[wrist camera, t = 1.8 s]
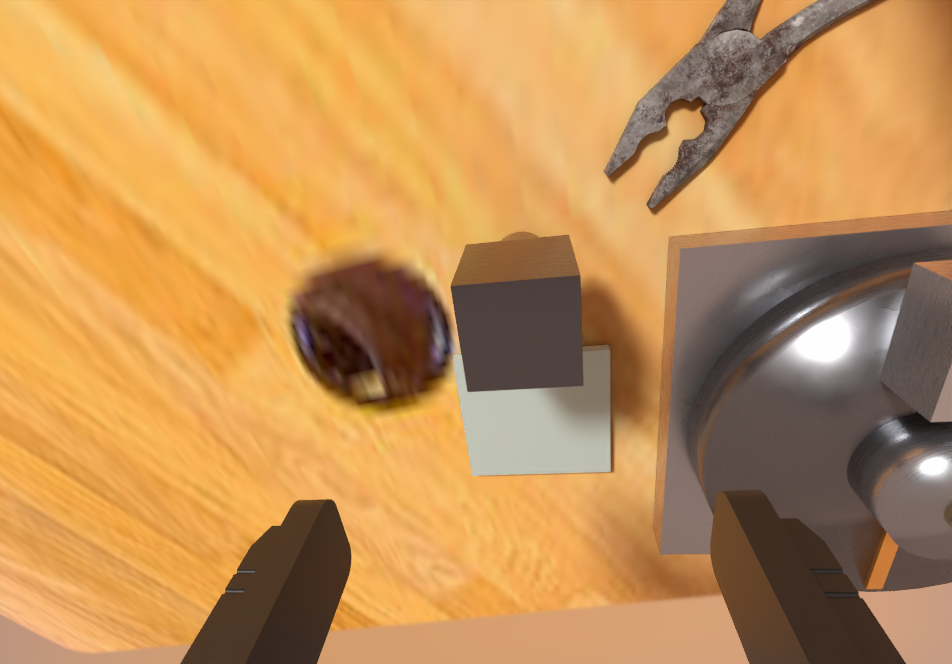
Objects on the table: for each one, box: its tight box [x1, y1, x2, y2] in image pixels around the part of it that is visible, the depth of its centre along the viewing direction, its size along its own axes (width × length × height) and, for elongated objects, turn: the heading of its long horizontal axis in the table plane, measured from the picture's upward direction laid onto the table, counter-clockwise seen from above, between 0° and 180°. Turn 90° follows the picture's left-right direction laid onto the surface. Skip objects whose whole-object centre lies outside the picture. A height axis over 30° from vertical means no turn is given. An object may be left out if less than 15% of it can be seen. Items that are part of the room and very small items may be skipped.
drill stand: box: [653, 211, 952, 554], centre depth 27 cm, size 21×21×2 cm
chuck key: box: [451, 232, 584, 392], centre depth 22 cm, size 4×4×9 cm
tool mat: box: [453, 345, 610, 476], centre depth 30 cm, size 9×9×1 cm
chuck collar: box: [689, 250, 952, 592], centre depth 21 cm, size 20×19×9 cm
